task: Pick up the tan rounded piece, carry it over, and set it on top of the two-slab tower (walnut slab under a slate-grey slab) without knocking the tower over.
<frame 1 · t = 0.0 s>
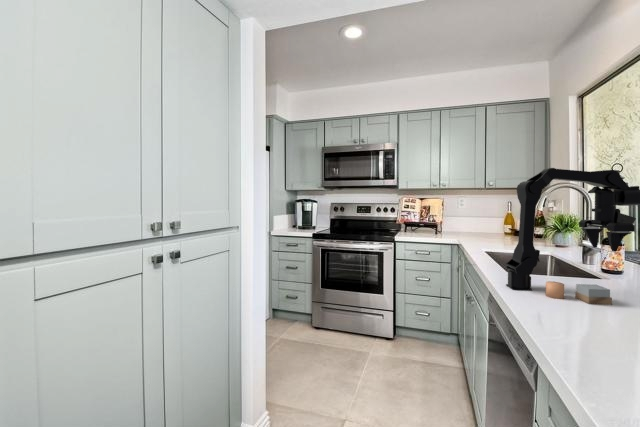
hand: (604, 249, 114), 14 cm above the counter, fingers open, 9 cm apart
base slab: (592, 302, 103), on the counter, touching top slab
top slab: (592, 294, 103), point 2 cm above the counter, touching base slab
tan rounded piece: (554, 296, 108), on the counter
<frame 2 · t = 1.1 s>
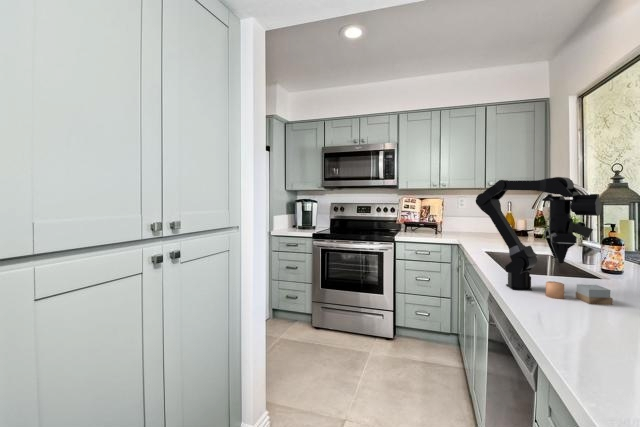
hand: (558, 260, 108), 12 cm above the counter, fingers open, 9 cm apart
nothing on the counter moved.
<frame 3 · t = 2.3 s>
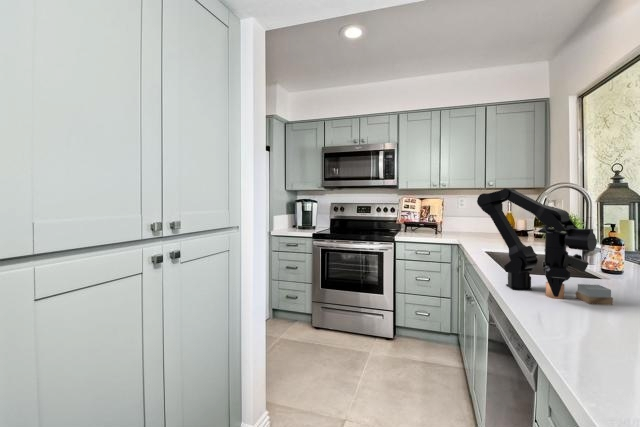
hand: (554, 292, 108), 1 cm above the counter, fingers open, 9 cm apart
nothing on the counter moved.
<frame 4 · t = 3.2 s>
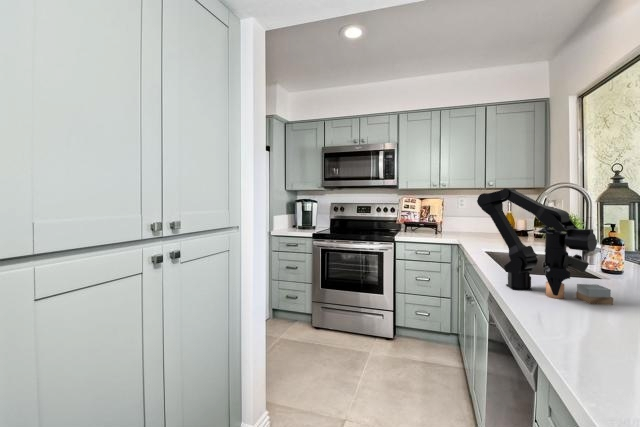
hand: (554, 293, 108), 1 cm above the counter, fingers closed on tan rounded piece, 5 cm apart
tan rounded piece: (554, 296, 108), on the counter, touching gripper
everything else where it was.
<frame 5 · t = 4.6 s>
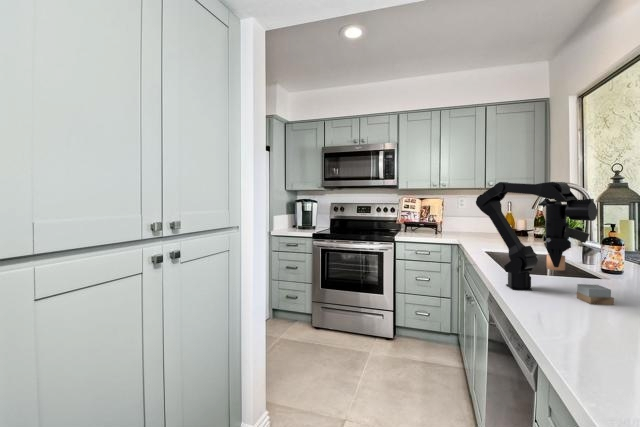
hand: (555, 265, 107), 10 cm above the counter, fingers closed on tan rounded piece, 5 cm apart
tan rounded piece: (555, 268, 107), point 9 cm above the counter, touching gripper
everything else where it was.
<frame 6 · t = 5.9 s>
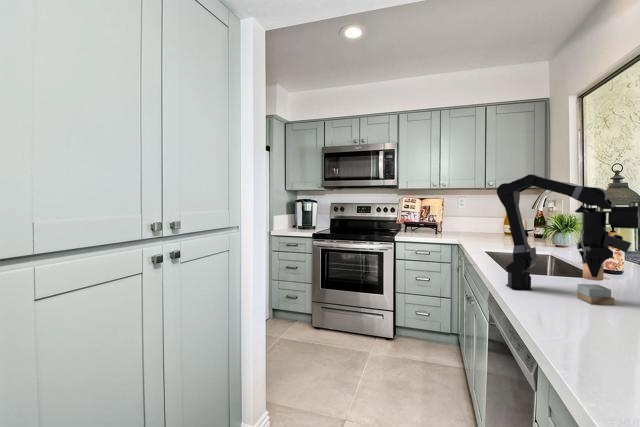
hand: (592, 275, 102), 8 cm above the counter, fingers closed on tan rounded piece, 5 cm apart
base slab: (595, 302, 102), on the counter
top slab: (593, 294, 103), point 2 cm above the counter
tan rounded piece: (592, 278, 102), point 7 cm above the counter, touching gripper
when the fingers open (7 cm above the counter, at t = 6.8 s): tan rounded piece drops 2 cm, resting on top slab.
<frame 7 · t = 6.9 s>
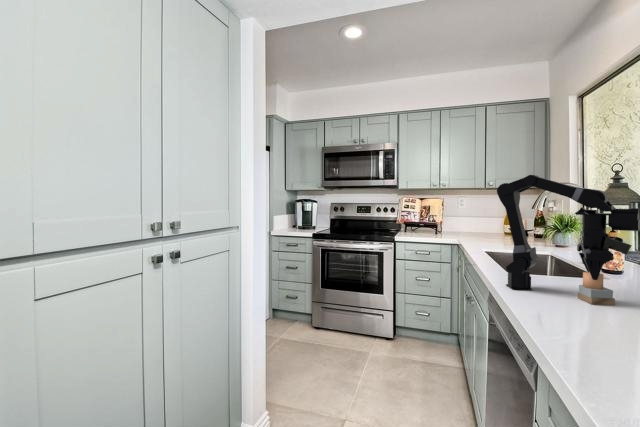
hand: (593, 277, 102), 7 cm above the counter, fingers open, 6 cm apart
base slab: (595, 303, 102), on the counter, touching top slab
top slab: (595, 295, 102), point 2 cm above the counter, touching base slab, tan rounded piece
tan rounded piece: (592, 287, 103), point 4 cm above the counter, touching top slab
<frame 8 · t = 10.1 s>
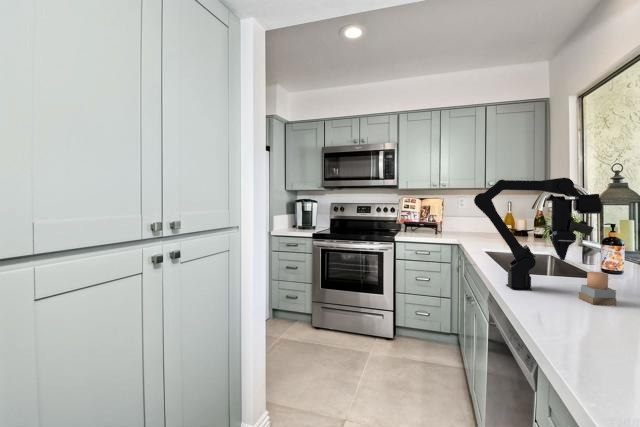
hand: (560, 257, 113), 12 cm above the counter, fingers open, 9 cm apart
tan rounded piece: (597, 287, 102), point 5 cm above the counter, touching top slab
everything else where it was.
at the end: tan rounded piece 0.1 cm off-centre on the top slab, point 2.5 cm above the top slab's base; top slab 0.3 cm from the base slab (horizontally); top slab tilted 0° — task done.
